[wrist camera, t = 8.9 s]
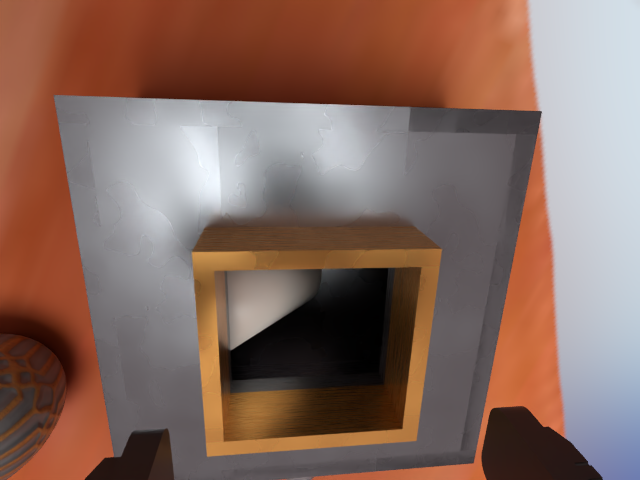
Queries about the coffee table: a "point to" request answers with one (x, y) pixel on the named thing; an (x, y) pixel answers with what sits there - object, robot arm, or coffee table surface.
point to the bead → (266, 298)
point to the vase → (27, 399)
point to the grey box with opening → (297, 253)
